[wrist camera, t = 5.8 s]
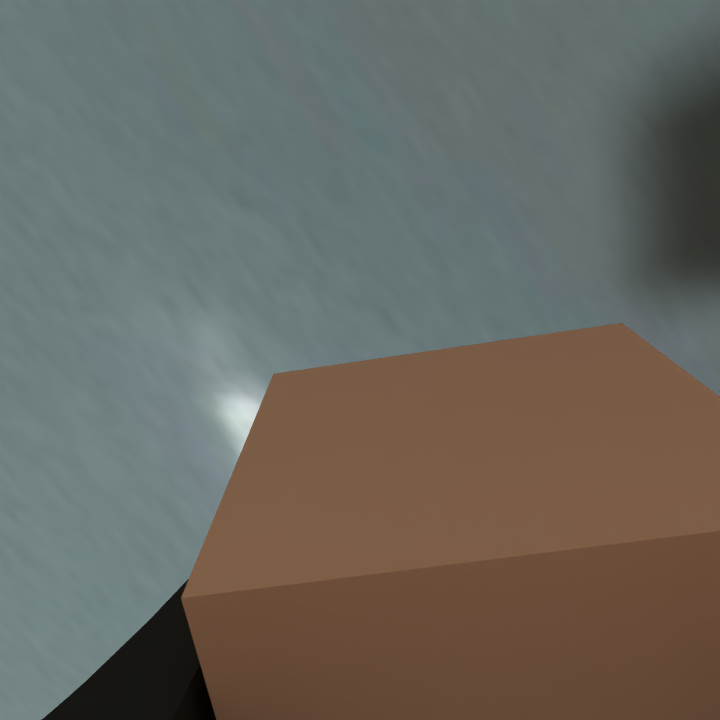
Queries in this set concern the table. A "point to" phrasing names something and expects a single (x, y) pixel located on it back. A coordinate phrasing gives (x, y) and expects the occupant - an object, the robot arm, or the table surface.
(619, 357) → the terracotta block
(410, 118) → the table surface
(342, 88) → the table surface
